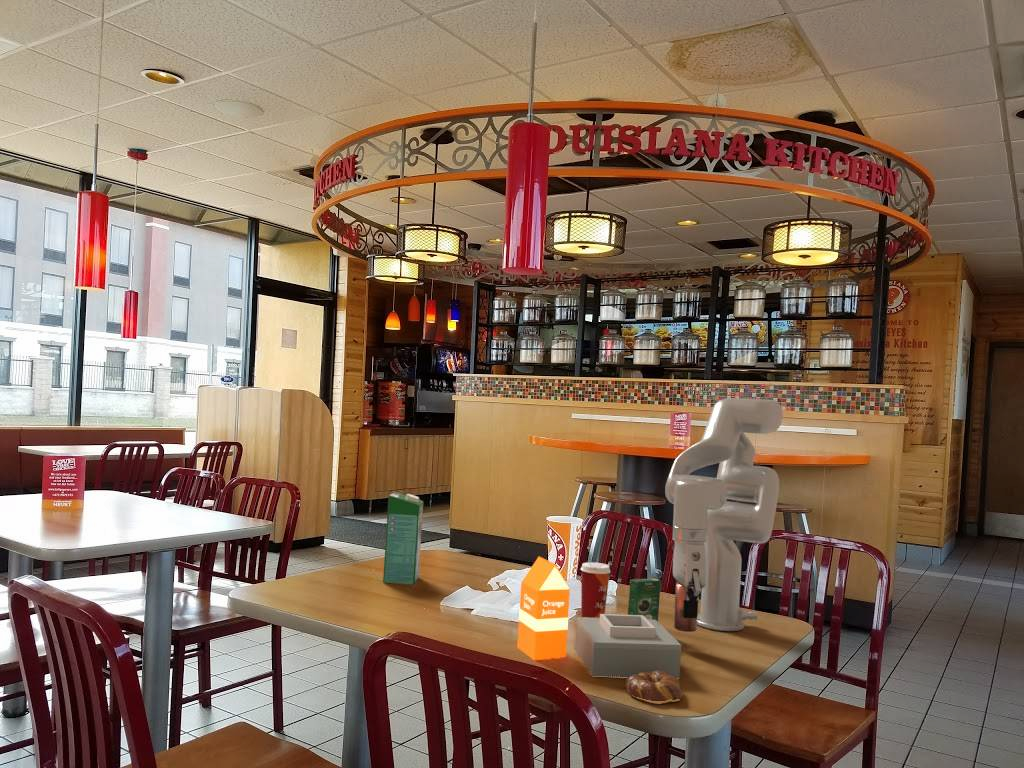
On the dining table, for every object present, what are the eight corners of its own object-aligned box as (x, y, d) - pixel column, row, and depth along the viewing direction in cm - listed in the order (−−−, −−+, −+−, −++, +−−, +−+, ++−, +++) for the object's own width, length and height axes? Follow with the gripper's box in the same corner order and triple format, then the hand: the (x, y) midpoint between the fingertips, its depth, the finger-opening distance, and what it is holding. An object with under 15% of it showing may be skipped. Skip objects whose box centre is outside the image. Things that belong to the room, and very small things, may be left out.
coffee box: (650, 630, 194) (653, 576, 194) (658, 633, 192) (661, 579, 192) (625, 633, 190) (628, 579, 190) (633, 637, 187) (636, 581, 187)
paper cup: (606, 626, 195) (610, 569, 195) (575, 622, 196) (579, 566, 197) (609, 618, 202) (612, 563, 203) (579, 614, 204) (582, 560, 204)
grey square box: (653, 650, 178) (655, 610, 178) (679, 679, 160) (682, 635, 160) (574, 648, 176) (577, 608, 176) (591, 677, 158) (594, 632, 158)
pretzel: (629, 680, 158) (630, 662, 159) (685, 689, 155) (686, 670, 155) (620, 700, 147) (621, 680, 147) (679, 711, 144) (680, 690, 144)
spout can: (692, 624, 183) (694, 576, 183) (699, 631, 178) (701, 582, 178) (671, 624, 183) (673, 576, 182) (678, 631, 178) (680, 582, 177)
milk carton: (414, 584, 225) (420, 496, 226) (382, 582, 225) (388, 494, 226) (418, 577, 234) (424, 493, 235) (388, 575, 234) (393, 491, 235)
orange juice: (533, 660, 166) (539, 564, 166) (516, 647, 174) (522, 556, 175) (566, 657, 169) (572, 564, 170) (548, 644, 177) (553, 555, 178)
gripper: (719, 542, 172) (715, 626, 172) (692, 527, 189) (689, 603, 189) (685, 542, 171) (682, 625, 171) (662, 526, 188) (658, 602, 188)
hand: (685, 613), depth 180 cm, fingers closed on spout can, 5 cm apart
